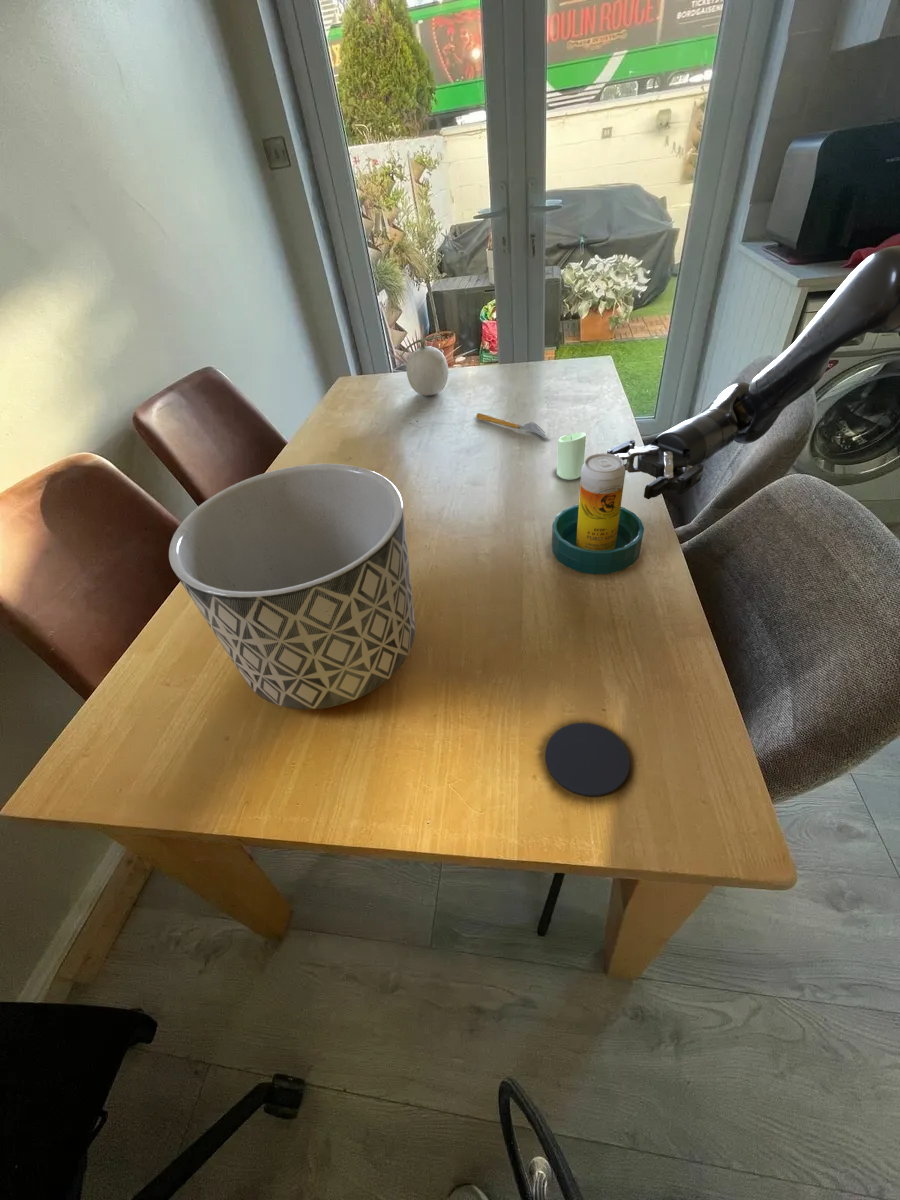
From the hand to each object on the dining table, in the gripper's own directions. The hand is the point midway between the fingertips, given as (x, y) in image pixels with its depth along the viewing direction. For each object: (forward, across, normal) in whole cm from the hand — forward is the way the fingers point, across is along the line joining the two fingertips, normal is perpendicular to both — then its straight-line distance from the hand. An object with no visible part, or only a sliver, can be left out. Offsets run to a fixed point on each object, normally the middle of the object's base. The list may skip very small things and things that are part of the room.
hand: (622, 483), depth 84 cm
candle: (-10, -19, +10) cm, 24 cm away
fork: (-17, -43, +10) cm, 47 cm away
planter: (+48, -10, +10) cm, 50 cm away
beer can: (+5, 0, +10) cm, 11 cm away
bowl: (+5, 0, +10) cm, 11 cm away
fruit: (-17, -74, +10) cm, 77 cm away
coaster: (+35, +24, +10) cm, 44 cm away
